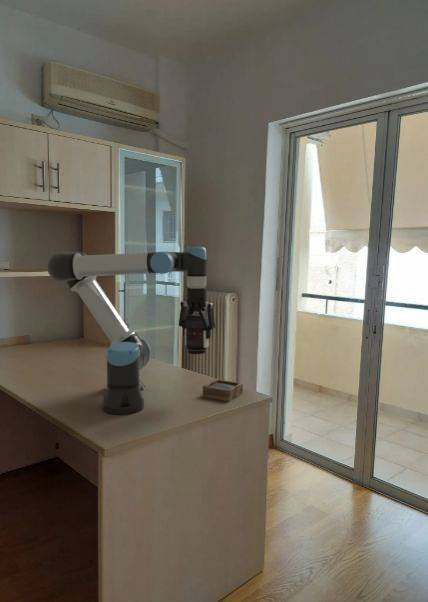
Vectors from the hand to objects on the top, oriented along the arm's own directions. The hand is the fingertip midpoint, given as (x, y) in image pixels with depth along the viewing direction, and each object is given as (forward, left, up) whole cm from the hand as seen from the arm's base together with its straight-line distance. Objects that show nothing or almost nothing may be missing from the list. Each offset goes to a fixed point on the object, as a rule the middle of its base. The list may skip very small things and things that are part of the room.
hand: (196, 345), depth 173 cm
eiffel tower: (-4, +32, -22) cm, 39 cm away
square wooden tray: (+10, -7, -21) cm, 25 cm away
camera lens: (0, 0, -3) cm, 3 cm away
